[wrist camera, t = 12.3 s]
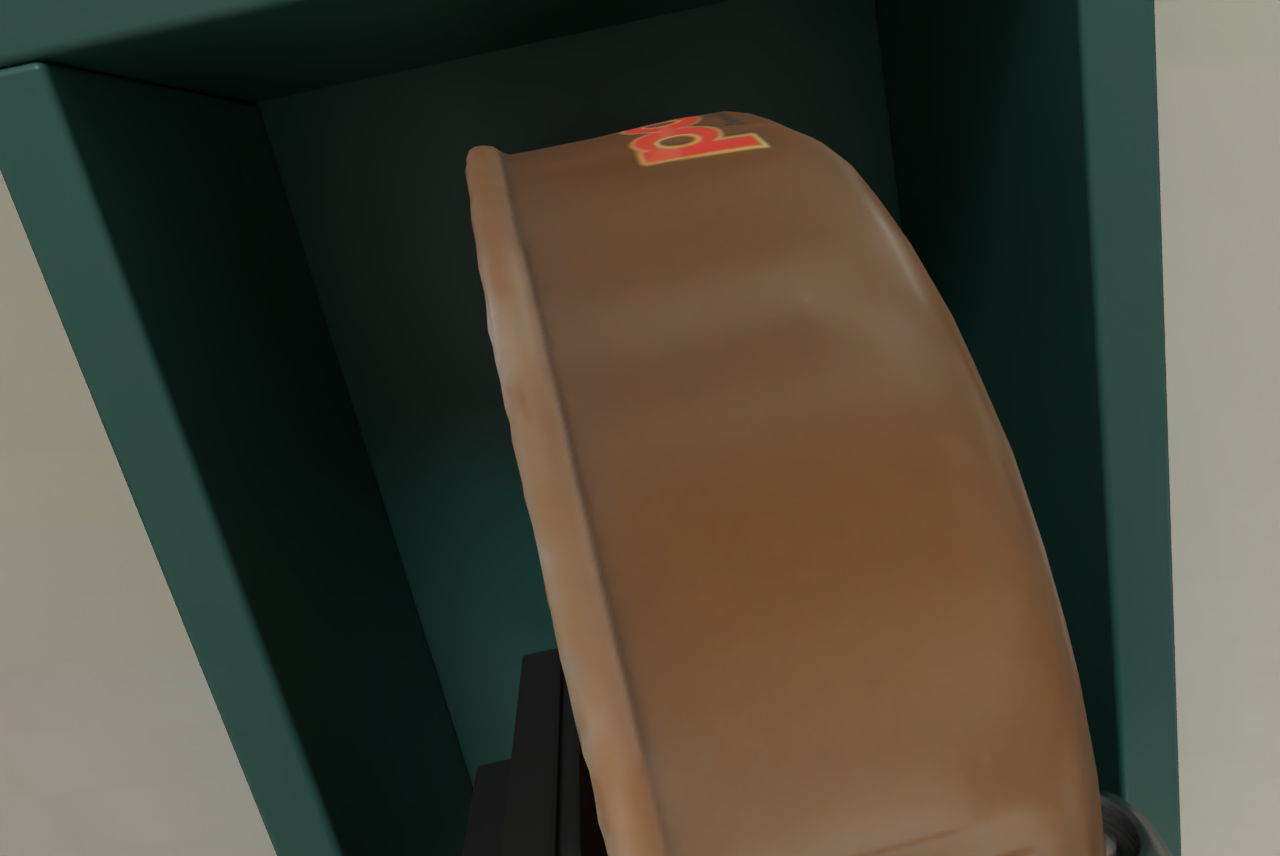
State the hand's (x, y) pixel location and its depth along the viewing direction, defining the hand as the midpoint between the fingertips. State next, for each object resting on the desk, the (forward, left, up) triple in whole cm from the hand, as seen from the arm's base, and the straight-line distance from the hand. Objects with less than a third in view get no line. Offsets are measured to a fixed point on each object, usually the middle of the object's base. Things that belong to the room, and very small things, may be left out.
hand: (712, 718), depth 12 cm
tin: (0, 0, -2) cm, 2 cm away
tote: (0, 0, -2) cm, 2 cm away
